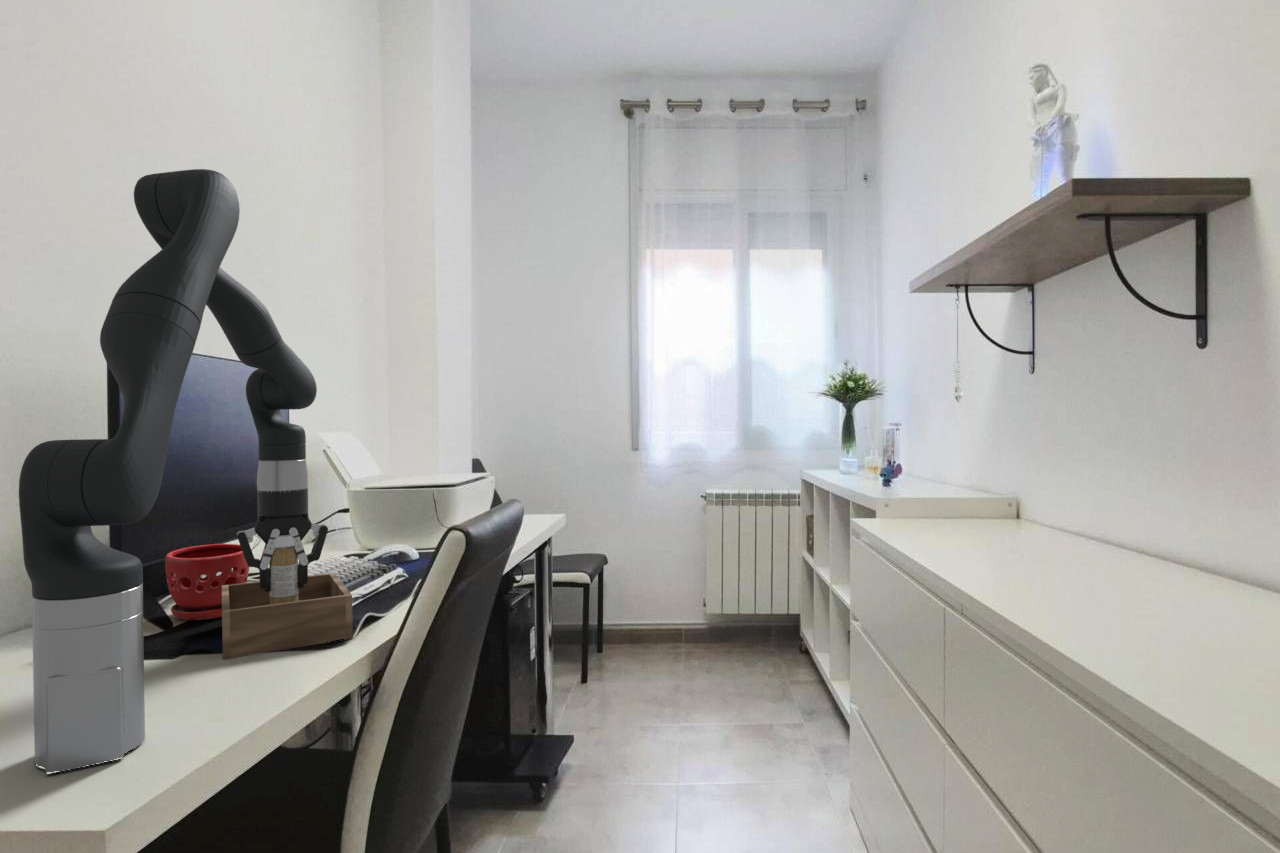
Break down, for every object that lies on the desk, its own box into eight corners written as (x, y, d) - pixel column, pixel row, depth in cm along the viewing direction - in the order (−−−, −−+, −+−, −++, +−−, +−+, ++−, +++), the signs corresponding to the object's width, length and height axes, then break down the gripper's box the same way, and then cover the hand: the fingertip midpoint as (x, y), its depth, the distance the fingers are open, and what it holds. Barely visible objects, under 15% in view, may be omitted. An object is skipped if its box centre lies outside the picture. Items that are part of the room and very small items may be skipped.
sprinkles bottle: (278, 610, 117) (276, 531, 117) (304, 610, 117) (303, 531, 117) (263, 618, 113) (262, 536, 113) (291, 617, 113) (289, 536, 113)
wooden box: (352, 638, 111) (352, 595, 111) (222, 659, 102) (222, 612, 102) (335, 610, 128) (334, 572, 128) (222, 625, 119) (221, 585, 119)
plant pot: (149, 620, 123) (148, 553, 123) (218, 602, 135) (218, 541, 135) (198, 628, 118) (197, 558, 118) (266, 608, 130) (265, 545, 130)
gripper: (233, 491, 108) (235, 600, 108) (332, 486, 115) (333, 587, 116) (232, 487, 114) (234, 590, 115) (326, 483, 122) (327, 579, 122)
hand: (284, 588), depth 115 cm, fingers closed on sprinkles bottle, 4 cm apart
